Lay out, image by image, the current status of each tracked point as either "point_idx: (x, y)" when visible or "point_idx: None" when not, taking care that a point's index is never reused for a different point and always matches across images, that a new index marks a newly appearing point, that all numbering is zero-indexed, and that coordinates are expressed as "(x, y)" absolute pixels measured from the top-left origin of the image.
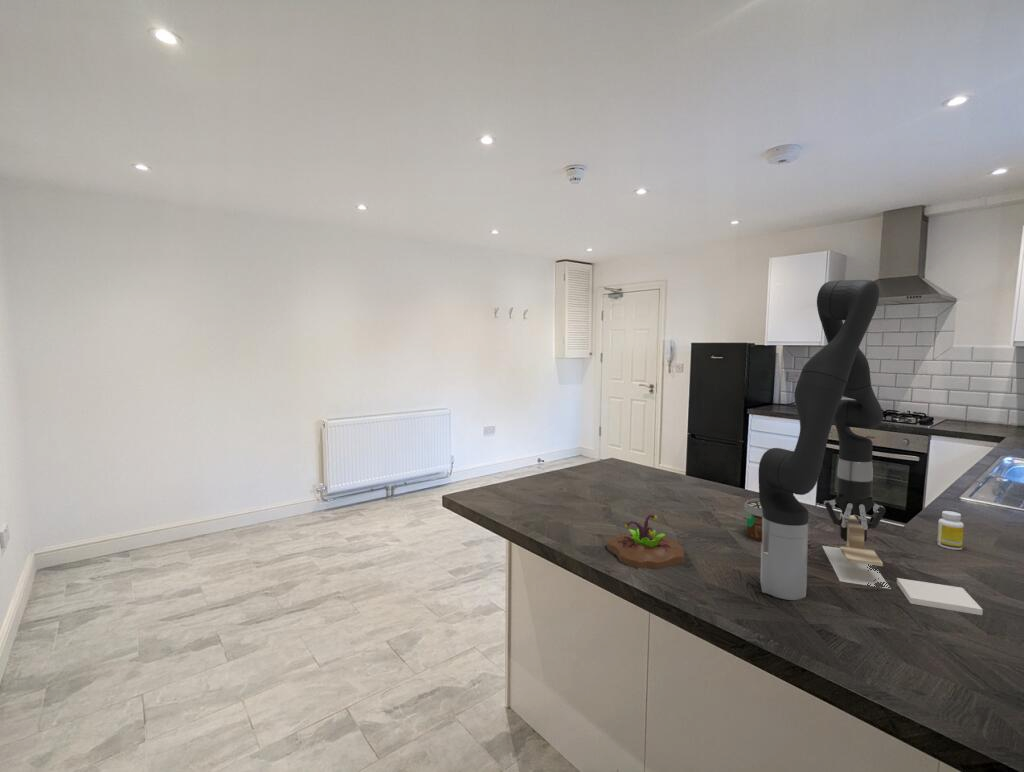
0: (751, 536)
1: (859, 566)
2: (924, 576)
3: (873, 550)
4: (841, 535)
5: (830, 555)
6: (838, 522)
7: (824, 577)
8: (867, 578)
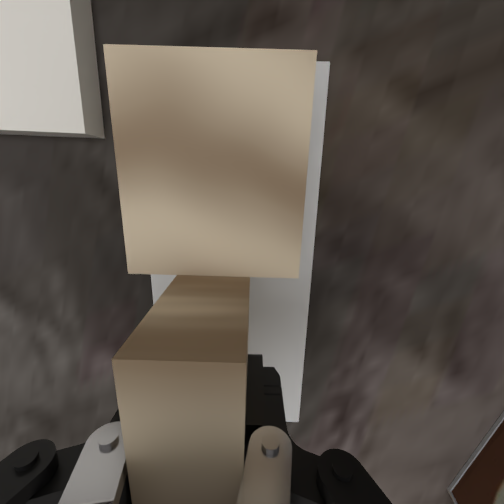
0: None
1: None
2: (2, 267)
3: (129, 270)
4: (275, 382)
5: (292, 342)
6: (320, 470)
7: (377, 108)
8: None
